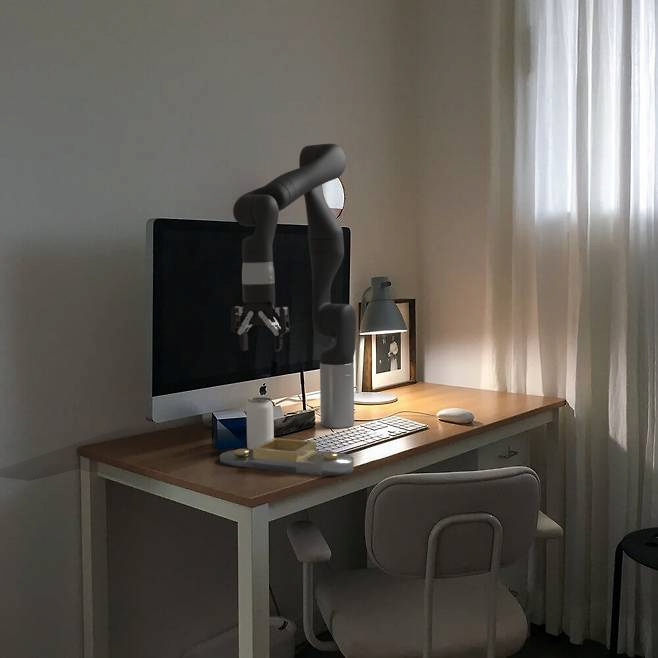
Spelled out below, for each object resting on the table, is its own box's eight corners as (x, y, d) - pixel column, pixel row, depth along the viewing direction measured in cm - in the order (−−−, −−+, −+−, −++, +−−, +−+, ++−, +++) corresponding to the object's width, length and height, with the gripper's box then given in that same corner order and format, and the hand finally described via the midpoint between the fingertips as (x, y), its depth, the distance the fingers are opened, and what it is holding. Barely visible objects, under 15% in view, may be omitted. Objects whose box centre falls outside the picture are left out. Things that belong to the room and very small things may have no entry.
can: (274, 444, 191) (273, 396, 189) (273, 451, 184) (272, 401, 183) (248, 445, 190) (247, 397, 189) (246, 451, 184) (245, 402, 183)
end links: (211, 463, 174) (210, 444, 173) (234, 452, 184) (234, 434, 183) (343, 478, 162) (342, 457, 161) (360, 465, 171) (360, 445, 171)
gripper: (293, 280, 180) (295, 349, 182) (239, 280, 186) (241, 347, 188) (279, 282, 174) (281, 354, 176) (223, 282, 179) (226, 352, 181)
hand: (260, 350), depth 182 cm, fingers open, 8 cm apart
